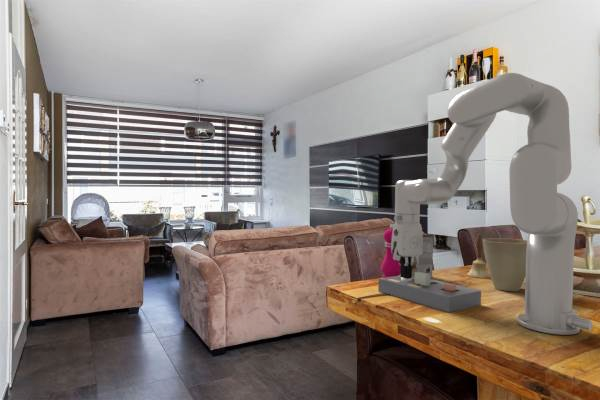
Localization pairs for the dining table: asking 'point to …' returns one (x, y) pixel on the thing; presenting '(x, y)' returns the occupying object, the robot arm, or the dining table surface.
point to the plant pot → (506, 262)
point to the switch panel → (431, 293)
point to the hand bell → (479, 262)
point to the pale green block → (422, 278)
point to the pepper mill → (390, 257)
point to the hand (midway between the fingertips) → (406, 277)
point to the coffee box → (425, 257)
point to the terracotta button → (449, 287)
